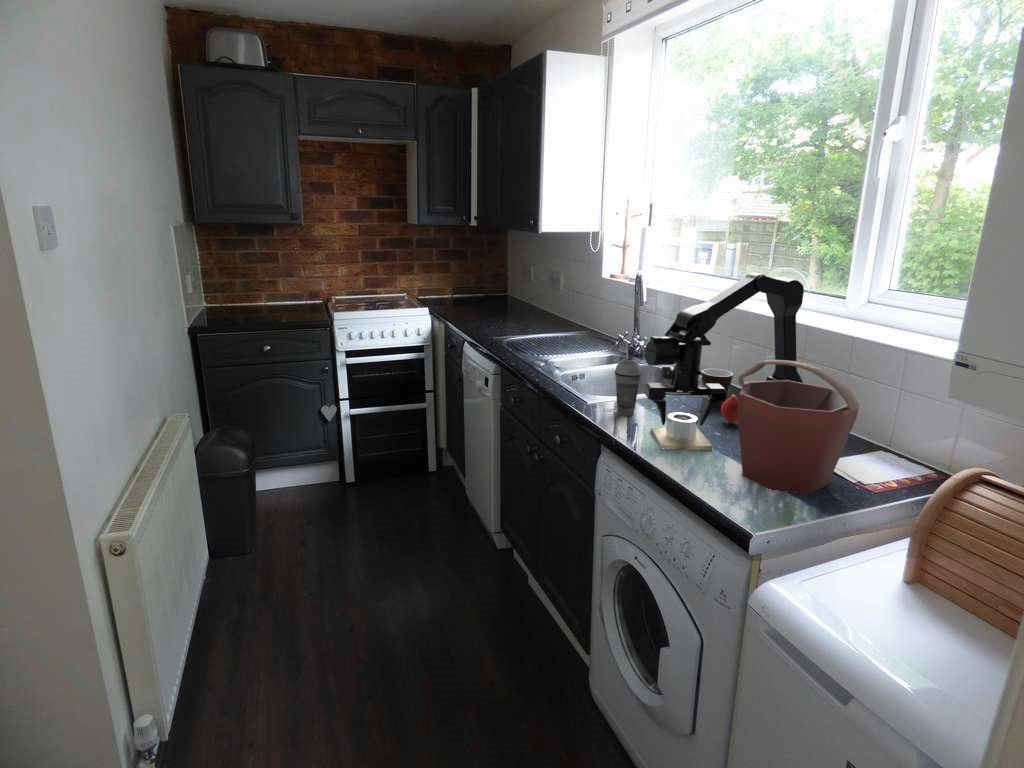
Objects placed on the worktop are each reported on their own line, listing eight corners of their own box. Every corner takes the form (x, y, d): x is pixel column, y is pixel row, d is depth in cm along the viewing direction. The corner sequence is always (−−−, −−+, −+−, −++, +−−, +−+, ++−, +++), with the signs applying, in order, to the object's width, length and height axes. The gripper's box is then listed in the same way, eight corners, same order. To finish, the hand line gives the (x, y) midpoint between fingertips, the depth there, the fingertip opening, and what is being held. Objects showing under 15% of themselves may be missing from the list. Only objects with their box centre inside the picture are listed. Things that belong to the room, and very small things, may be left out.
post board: (697, 431, 159) (699, 409, 158) (712, 449, 148) (714, 426, 146) (650, 431, 159) (652, 409, 158) (661, 449, 148) (663, 425, 146)
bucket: (705, 462, 141) (717, 354, 134) (778, 448, 149) (793, 347, 142) (791, 510, 119) (811, 385, 112) (870, 491, 128) (894, 374, 121)
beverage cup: (626, 419, 168) (632, 347, 162) (606, 412, 173) (611, 342, 167) (644, 414, 172) (649, 343, 167) (623, 407, 178) (628, 338, 172)
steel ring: (699, 441, 150) (701, 422, 149) (670, 441, 150) (671, 421, 148) (690, 431, 157) (692, 412, 155) (663, 431, 157) (664, 412, 155)
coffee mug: (723, 412, 175) (727, 378, 172) (693, 406, 180) (697, 373, 177) (736, 402, 183) (740, 370, 181) (708, 397, 188) (711, 365, 186)
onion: (741, 421, 168) (745, 392, 166) (743, 428, 163) (746, 399, 160) (718, 418, 170) (722, 390, 167) (719, 425, 164) (723, 396, 162)
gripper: (716, 355, 156) (709, 414, 160) (641, 354, 156) (637, 413, 160) (731, 367, 145) (723, 430, 150) (651, 366, 145) (646, 428, 149)
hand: (681, 425), depth 152 cm, fingers open, 9 cm apart
